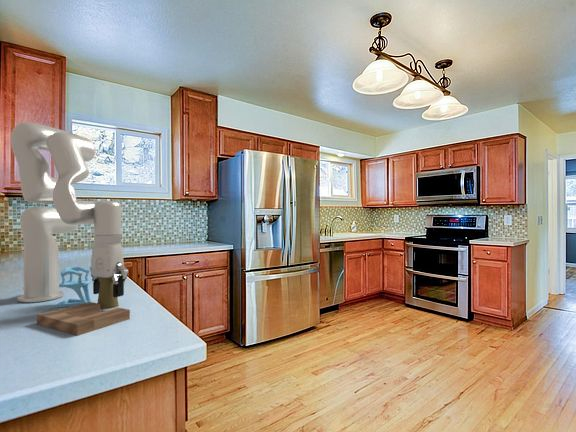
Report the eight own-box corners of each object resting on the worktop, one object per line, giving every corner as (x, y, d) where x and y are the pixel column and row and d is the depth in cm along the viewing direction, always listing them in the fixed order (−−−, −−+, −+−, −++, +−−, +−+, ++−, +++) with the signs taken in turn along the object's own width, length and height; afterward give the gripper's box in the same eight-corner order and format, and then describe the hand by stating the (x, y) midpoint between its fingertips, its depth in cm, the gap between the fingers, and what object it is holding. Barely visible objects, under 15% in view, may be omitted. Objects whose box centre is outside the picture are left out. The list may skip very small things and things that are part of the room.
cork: (108, 309, 98) (109, 273, 98) (91, 308, 99) (91, 272, 99) (122, 304, 104) (122, 270, 104) (106, 303, 105) (106, 269, 105)
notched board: (36, 323, 85) (36, 314, 85) (89, 310, 98) (89, 301, 98) (77, 335, 77) (77, 325, 77) (129, 318, 89) (129, 309, 89)
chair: (83, 307, 101) (84, 268, 101) (54, 307, 100) (54, 269, 100) (94, 300, 109) (94, 265, 109) (67, 301, 107) (67, 265, 107)
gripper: (79, 240, 102) (79, 294, 102) (114, 242, 94) (115, 300, 94) (102, 239, 109) (102, 289, 109) (137, 240, 101) (137, 295, 101)
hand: (108, 294), depth 101 cm, fingers open, 9 cm apart
